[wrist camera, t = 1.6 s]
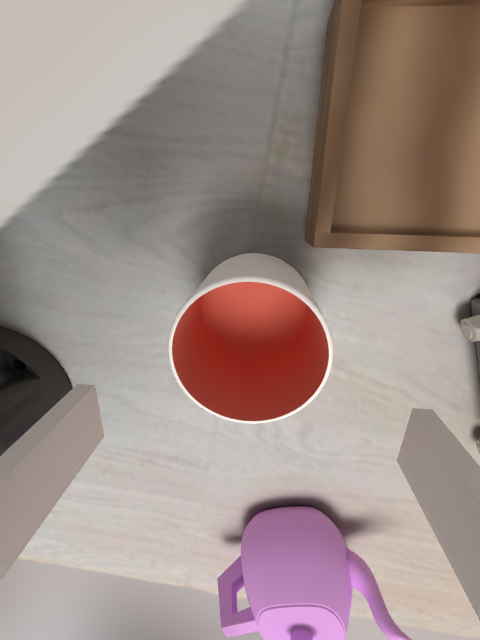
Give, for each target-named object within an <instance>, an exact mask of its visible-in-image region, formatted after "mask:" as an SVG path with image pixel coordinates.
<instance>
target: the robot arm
mask: <svg viewBox="0 0 480 640" xmlns="http://www.w3.org/2000/svg"><path fill="white" fill-rule="evenodd" d="M103 437H104V432H103V427H102V422H101V416H100V411H99V406H98V400H97V395H96V390H95V385H83V384H77V385H76V386H75V387H74V388H73V389H72V388H71V385H70V383H69V380H68V378H67V376H66V375H65V373H64V371H63V370H62V368H61V367H60V366H59V364H58V363H57V362H56V361H55V359H54V358H53V357H52V356H51V355H50V354H49V353H48V352H46V351H45V350H44V349H43V348H42V347H40V346H39V345H38V344H36V343H35V342H33V341H32V340H30V339H28V338H27V337H25V336H23V335H21V334H18V333H16V332H14V331H11V330H8V329H4V328H0V582H1V580H2V579H3V577H4V576H5V574H6V573H7V572H8V570H9V569H10V567H11V566H12V565H13V563H14V562H15V561H16V559H17V558H18V556H19V555H20V553H21V552H22V551H23V549H24V548H25V546H26V545H27V544H28V542H29V541H30V539H31V538H32V537H33V535H34V534H35V532H36V531H37V530H38V528H39V527H40V525H41V524H42V523H43V521H44V520H45V518H46V517H47V516H48V514H49V513H50V511H51V510H52V508H53V507H54V506H55V504H56V503H57V501H58V500H59V499H60V497H61V496H62V494H63V493H64V492H65V490H66V489H67V487H68V486H69V485H70V483H71V482H72V480H73V479H74V478H75V476H76V475H77V473H78V472H79V470H80V469H81V468H82V466H83V465H84V463H85V462H86V461H87V459H88V458H89V456H90V455H91V454H92V452H93V451H94V449H95V448H96V447H97V445H98V444H99V442H100V441H101V440H102V438H103ZM397 462H398V464H399V465H400V467H401V469H402V471H403V473H404V475H405V477H406V479H407V481H408V483H409V485H410V487H411V489H412V491H413V492H414V494H415V496H416V498H417V500H418V502H419V504H420V506H421V508H422V510H423V512H424V514H425V516H426V517H427V519H428V521H429V523H430V525H431V527H432V529H433V531H434V533H435V535H436V537H437V539H438V541H439V543H440V544H441V546H442V548H443V550H444V552H445V554H446V556H447V558H448V560H449V562H450V564H451V566H452V568H453V570H454V571H455V573H456V575H457V577H458V579H459V581H460V583H461V585H462V587H463V589H464V591H465V593H466V595H467V596H468V598H469V600H470V602H471V604H472V606H473V608H474V610H475V612H476V614H477V616H478V618H479V620H480V466H479V465H478V464H477V463H476V462H475V460H474V459H473V458H472V457H471V456H470V454H469V453H468V452H467V451H466V450H465V448H464V447H463V446H462V445H461V443H460V442H459V441H458V440H457V439H456V437H455V436H454V435H453V434H452V433H451V431H450V430H449V429H448V428H447V427H446V425H445V424H444V423H443V422H442V420H441V419H440V418H439V417H438V416H437V414H436V413H435V412H434V411H433V410H428V409H414V408H413V409H412V412H411V415H410V419H409V422H408V425H407V429H406V432H405V435H404V439H403V442H402V446H401V449H400V452H399V456H398V459H397Z"/></svg>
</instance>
